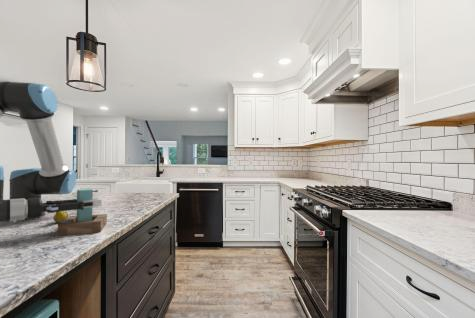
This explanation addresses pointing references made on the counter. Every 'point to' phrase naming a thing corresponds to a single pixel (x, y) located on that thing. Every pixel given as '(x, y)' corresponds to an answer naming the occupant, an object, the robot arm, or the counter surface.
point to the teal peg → (86, 212)
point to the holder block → (82, 225)
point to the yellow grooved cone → (60, 216)
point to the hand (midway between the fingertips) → (99, 201)
